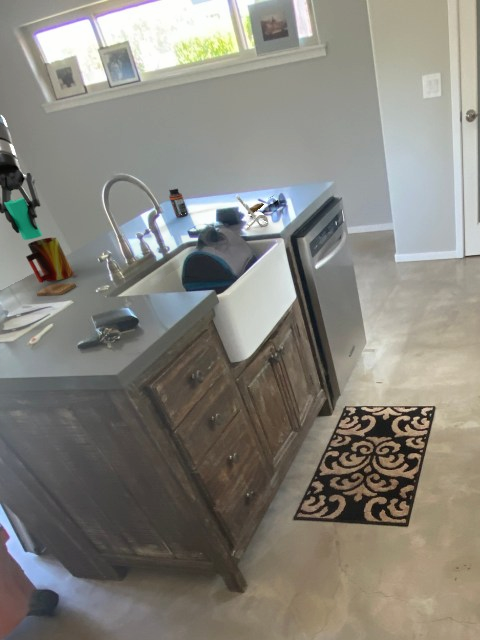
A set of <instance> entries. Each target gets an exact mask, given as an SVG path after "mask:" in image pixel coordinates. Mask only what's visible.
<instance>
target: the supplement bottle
mask: <svg viewBox="0 0 480 640" xmlns="http://www.w3.org/2000/svg"><path fill="white" fill-rule="evenodd" d="M168 191H169V195H168V196H169V200H170V203H171V205H172V209H173V212H174V215H175V217H176V218H182V217H186V216H188V214H189V212H188V208H187V205H186V203H185V199H184V197H183V196H184V195H183V194H182V193H181V192H179V188H178V187H172V188H169V189H168ZM185 213H186V214H185ZM181 214H182V215H181Z"/></svg>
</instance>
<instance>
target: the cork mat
mask: <svg viewBox="0 0 480 640" xmlns="http://www.w3.org/2000/svg"><path fill="white" fill-rule="evenodd" d="M76 287H77V284H76V283H75V282H73V283H72V282H71V283H54V284H50V285H48V286H46V287H44V288H43V289H40V290H39V291H37V292H36V296H37V297H43V296H62V295H65V294H66V293H67V292H69V291H71V290H73V289H74V288H76Z"/></svg>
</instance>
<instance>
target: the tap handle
mask: <svg viewBox="0 0 480 640" xmlns="http://www.w3.org/2000/svg"><path fill="white" fill-rule="evenodd" d="M273 196H274V195H272V196H270V197H269V198H271V197H273ZM263 203H264V202H261V203H260V202H259V203H256V204H254V205H253V206H251V207H250V208H249V209H250V210H251V211H252V212H253V213H254V212H255V211H257V210H258V209H260V208H261V207H262V206H263V205H264V204H263ZM248 214H250V213H249V212H248V211H247V215H248ZM249 217H250V218H253V217H252V216H249Z"/></svg>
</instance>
